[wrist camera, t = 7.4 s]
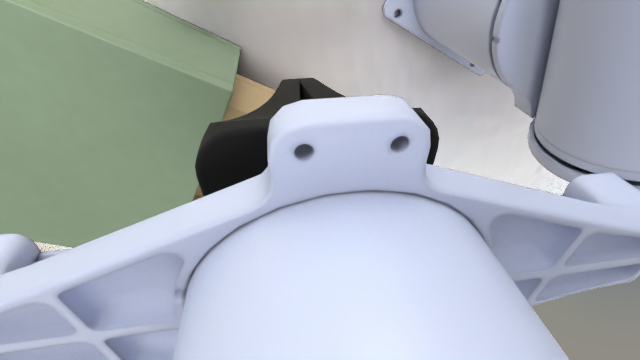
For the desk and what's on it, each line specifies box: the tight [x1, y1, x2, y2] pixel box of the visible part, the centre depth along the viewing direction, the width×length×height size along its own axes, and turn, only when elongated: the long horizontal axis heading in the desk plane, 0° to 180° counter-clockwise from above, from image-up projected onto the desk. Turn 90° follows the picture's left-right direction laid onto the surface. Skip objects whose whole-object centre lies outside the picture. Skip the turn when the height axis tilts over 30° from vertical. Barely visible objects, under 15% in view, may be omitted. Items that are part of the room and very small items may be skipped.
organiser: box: [0, 0, 241, 248], centre depth 18 cm, size 14×14×7 cm
